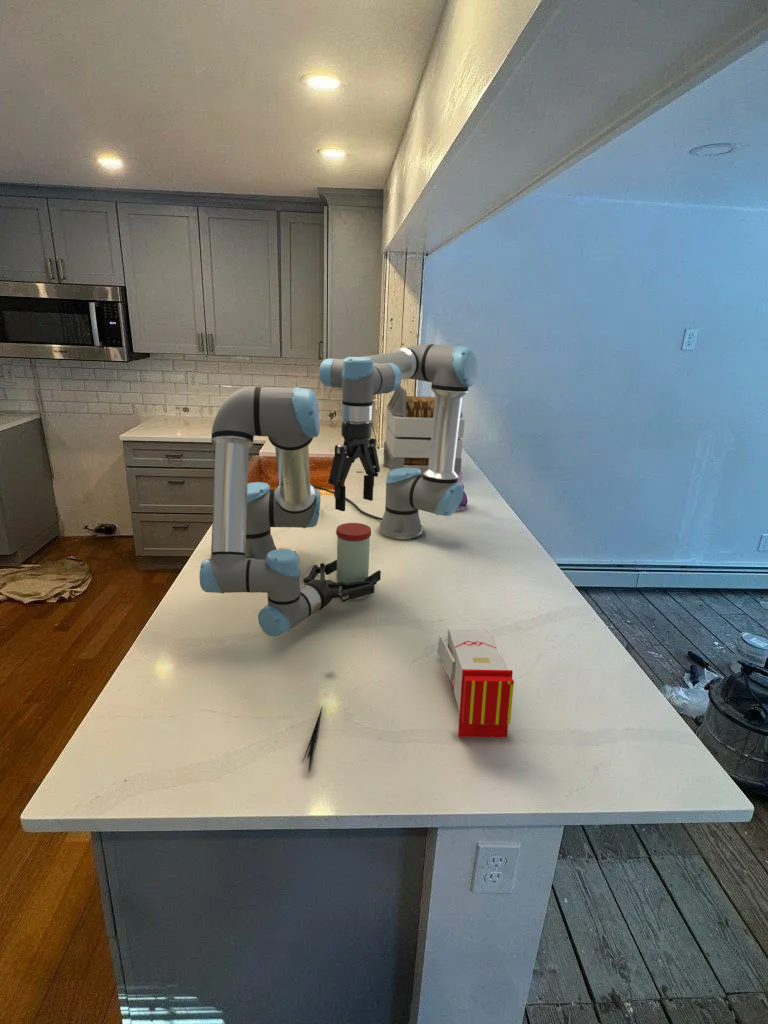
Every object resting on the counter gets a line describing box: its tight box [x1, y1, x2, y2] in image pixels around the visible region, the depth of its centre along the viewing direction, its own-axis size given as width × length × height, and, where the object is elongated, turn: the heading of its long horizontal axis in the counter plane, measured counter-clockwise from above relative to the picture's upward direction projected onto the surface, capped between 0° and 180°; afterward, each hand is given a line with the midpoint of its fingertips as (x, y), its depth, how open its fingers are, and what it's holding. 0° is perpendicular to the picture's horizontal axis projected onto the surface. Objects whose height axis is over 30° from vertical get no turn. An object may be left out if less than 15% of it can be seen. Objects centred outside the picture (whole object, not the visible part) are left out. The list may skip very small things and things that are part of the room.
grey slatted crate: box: [383, 385, 465, 475], centre depth 268 cm, size 34×33×41 cm
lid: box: [335, 522, 372, 541], centre depth 151 cm, size 9×9×2 cm
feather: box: [301, 673, 332, 771], centre depth 108 cm, size 2×28×2 cm
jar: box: [336, 535, 371, 601], centre depth 155 cm, size 9×9×18 cm
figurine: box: [454, 471, 468, 513], centre depth 225 cm, size 9×10×15 cm
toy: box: [437, 628, 515, 738], centre depth 117 cm, size 12×13×30 cm
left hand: (359, 568), depth 158 cm, fingers open, 12 cm apart
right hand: (354, 504), depth 149 cm, fingers open, 11 cm apart
